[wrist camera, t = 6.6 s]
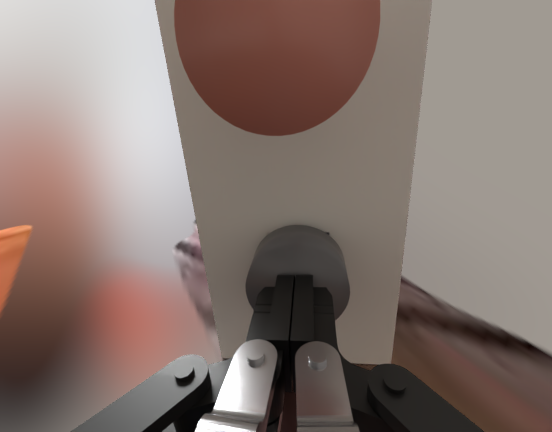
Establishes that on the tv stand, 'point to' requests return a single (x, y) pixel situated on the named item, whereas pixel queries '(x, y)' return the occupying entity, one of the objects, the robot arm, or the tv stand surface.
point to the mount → (312, 184)
